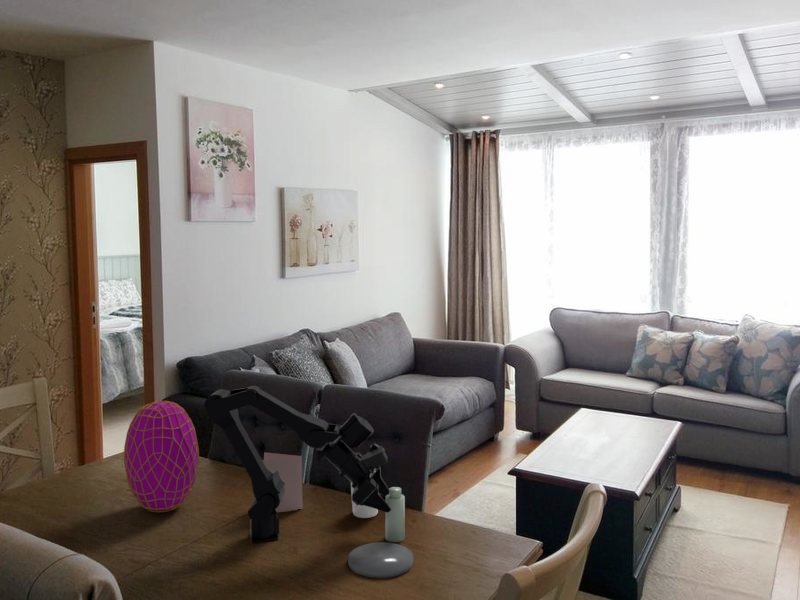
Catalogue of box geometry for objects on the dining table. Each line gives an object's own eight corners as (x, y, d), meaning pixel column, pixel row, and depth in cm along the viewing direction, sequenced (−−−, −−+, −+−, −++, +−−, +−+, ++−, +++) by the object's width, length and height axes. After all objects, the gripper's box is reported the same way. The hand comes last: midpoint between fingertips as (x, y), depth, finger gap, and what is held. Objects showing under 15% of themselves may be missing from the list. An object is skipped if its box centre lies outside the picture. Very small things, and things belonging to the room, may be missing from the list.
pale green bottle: (388, 543, 165) (388, 493, 163) (383, 535, 169) (383, 486, 168) (407, 540, 166) (407, 491, 165) (401, 532, 171) (401, 484, 169)
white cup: (375, 520, 178) (375, 483, 177) (347, 517, 180) (347, 481, 179) (382, 508, 186) (382, 473, 185) (355, 506, 187) (354, 471, 186)
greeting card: (303, 508, 186) (303, 455, 185) (292, 518, 179) (291, 463, 178) (266, 503, 189) (265, 451, 188) (253, 513, 182) (252, 459, 181)
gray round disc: (357, 582, 145) (357, 577, 145) (341, 552, 160) (341, 547, 160) (422, 572, 150) (422, 566, 150) (401, 543, 164) (401, 538, 164)
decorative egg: (109, 517, 180) (105, 407, 177) (160, 492, 198) (157, 391, 195) (166, 528, 173) (163, 414, 170) (214, 501, 191) (212, 397, 188)
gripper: (365, 449, 156) (413, 495, 157) (370, 427, 175) (413, 468, 175) (332, 482, 157) (379, 528, 158) (340, 456, 176) (383, 497, 176)
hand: (390, 503), depth 167 cm, fingers open, 9 cm apart
